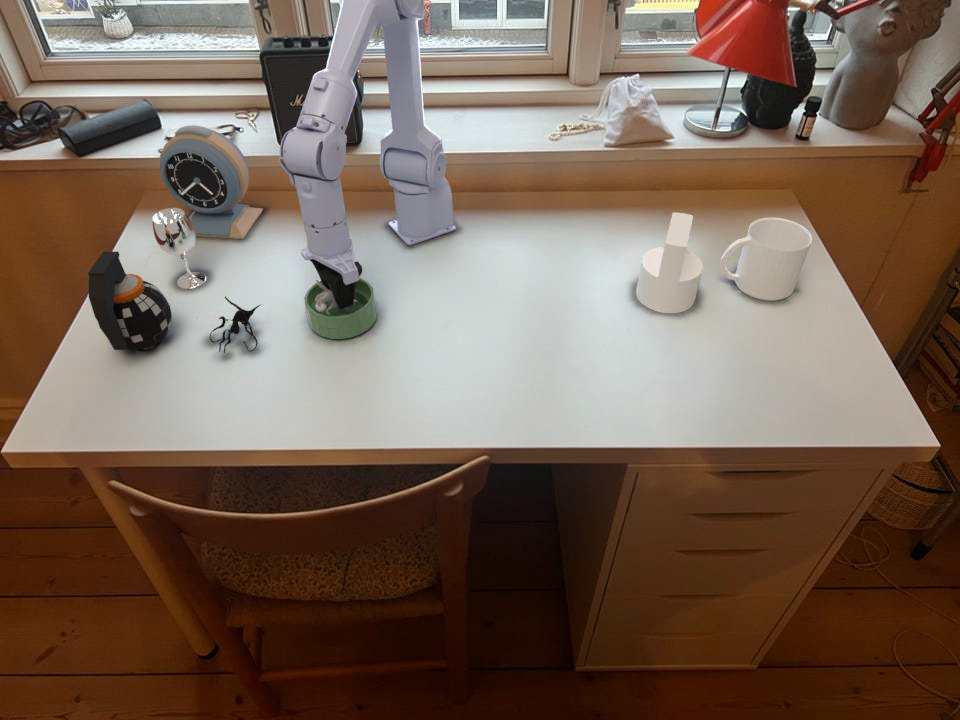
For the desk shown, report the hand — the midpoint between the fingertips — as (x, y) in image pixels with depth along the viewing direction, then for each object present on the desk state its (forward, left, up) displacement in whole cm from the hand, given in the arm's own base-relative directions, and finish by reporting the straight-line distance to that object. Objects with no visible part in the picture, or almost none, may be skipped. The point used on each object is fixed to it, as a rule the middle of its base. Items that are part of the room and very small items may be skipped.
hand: (339, 297), depth 102 cm
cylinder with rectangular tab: (-45, +21, -4) cm, 50 cm away
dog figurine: (+2, 0, -3) cm, 3 cm away
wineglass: (+17, -22, -4) cm, 28 cm away
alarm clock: (+8, -37, -4) cm, 38 cm away
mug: (-59, +26, -4) cm, 65 cm away
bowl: (0, 0, -4) cm, 4 cm away
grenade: (+27, -10, -4) cm, 29 cm away
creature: (+15, -4, -4) cm, 16 cm away
